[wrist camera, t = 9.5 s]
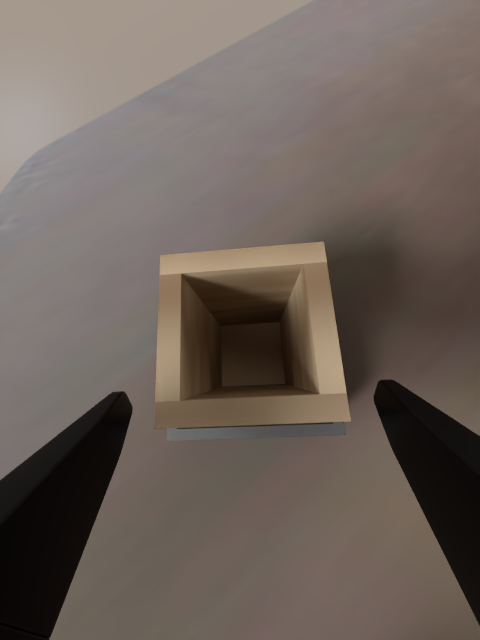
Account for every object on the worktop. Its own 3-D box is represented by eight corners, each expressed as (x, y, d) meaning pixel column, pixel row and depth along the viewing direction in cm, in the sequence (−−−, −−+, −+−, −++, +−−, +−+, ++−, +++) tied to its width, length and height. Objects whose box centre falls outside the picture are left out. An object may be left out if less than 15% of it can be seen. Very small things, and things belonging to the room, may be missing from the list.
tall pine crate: (296, 394, 17) (350, 421, 7) (213, 398, 17) (154, 428, 7) (287, 313, 18) (323, 241, 8) (211, 318, 18) (160, 255, 9)
